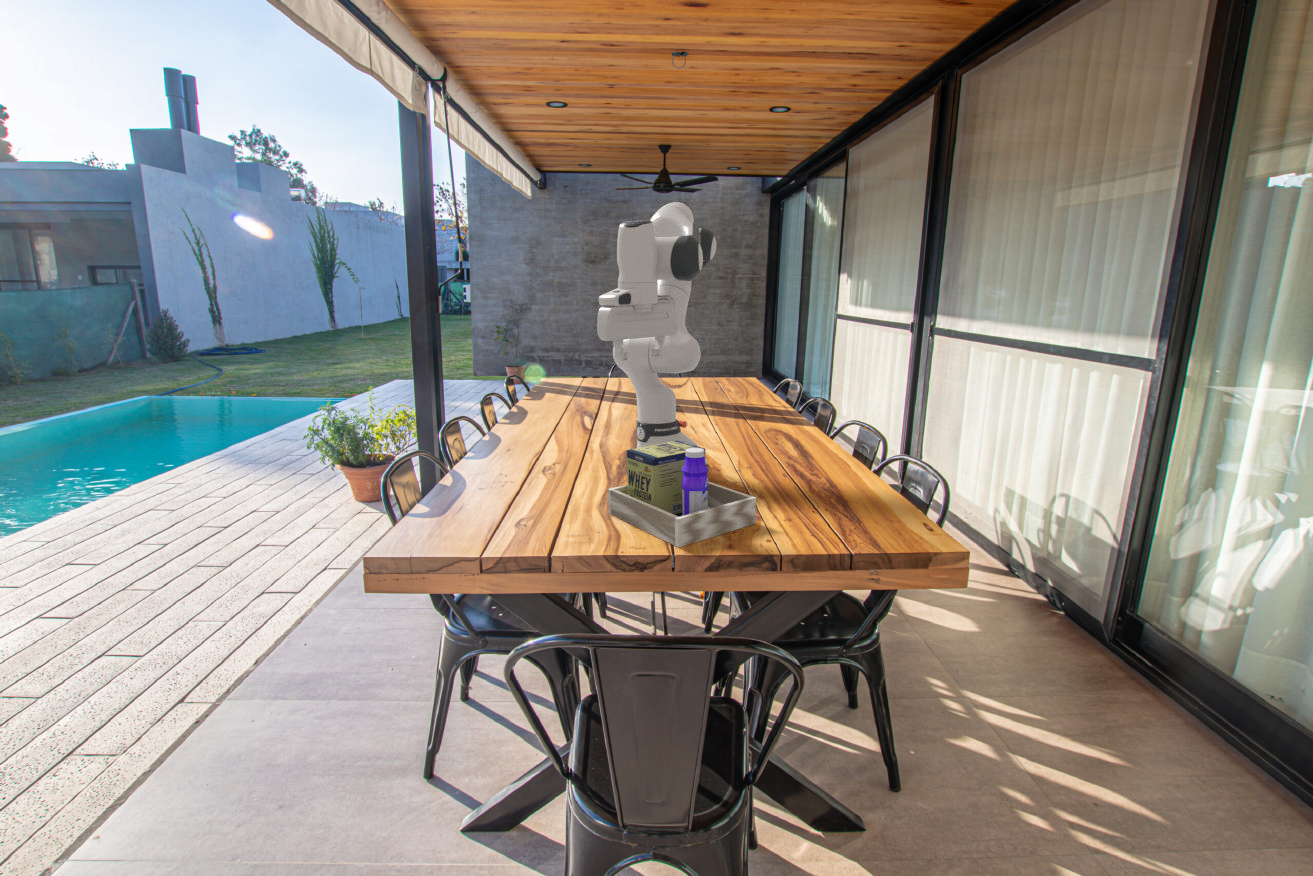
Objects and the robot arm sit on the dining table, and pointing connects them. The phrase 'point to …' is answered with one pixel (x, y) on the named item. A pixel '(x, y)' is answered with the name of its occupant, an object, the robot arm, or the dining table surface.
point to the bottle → (694, 482)
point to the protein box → (658, 474)
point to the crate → (721, 518)
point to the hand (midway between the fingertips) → (639, 358)
